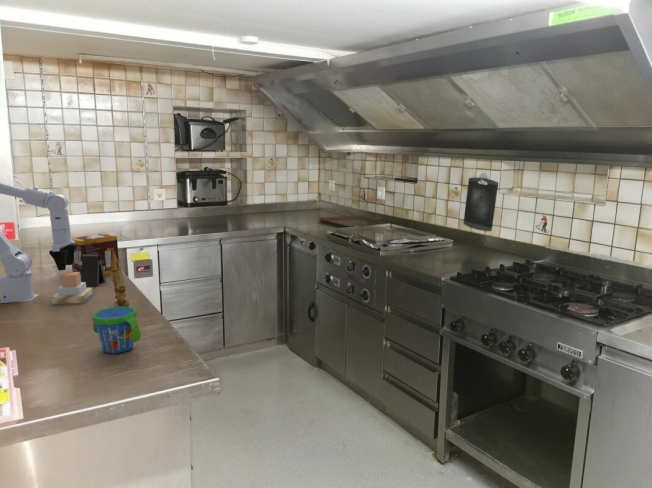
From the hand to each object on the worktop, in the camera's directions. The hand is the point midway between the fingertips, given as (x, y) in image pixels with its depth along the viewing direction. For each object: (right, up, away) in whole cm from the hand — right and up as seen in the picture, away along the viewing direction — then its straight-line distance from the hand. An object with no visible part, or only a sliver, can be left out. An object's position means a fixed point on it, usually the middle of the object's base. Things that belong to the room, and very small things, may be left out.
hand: (65, 267), depth 183 cm
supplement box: (-4, -4, +34) cm, 34 cm away
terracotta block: (+4, -6, -4) cm, 9 cm away
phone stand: (+3, -8, +16) cm, 18 cm away
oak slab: (+4, -11, -4) cm, 12 cm away
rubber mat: (+4, -11, -3) cm, 13 cm away
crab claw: (+23, -13, -10) cm, 28 cm away
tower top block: (+4, -8, -4) cm, 10 cm away
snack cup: (+36, -20, -46) cm, 62 cm away
